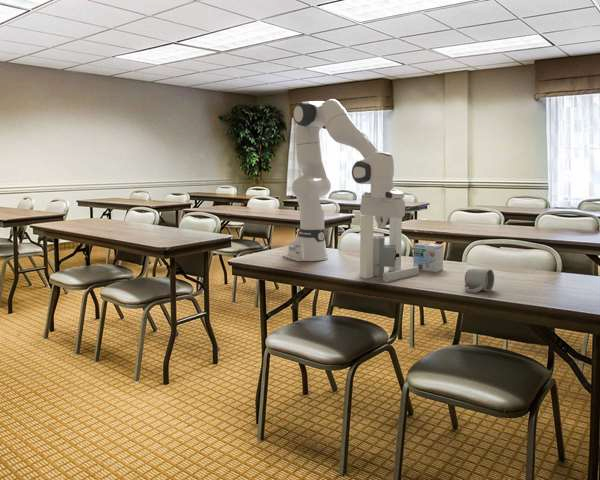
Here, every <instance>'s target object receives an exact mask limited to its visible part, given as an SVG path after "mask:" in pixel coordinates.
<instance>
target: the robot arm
mask: <svg viewBox="0 0 600 480" xmlns="http://www.w3.org/2000/svg"><path fill="white" fill-rule="evenodd" d="M292 117H293V120H294V122H295V124H296V127H295V138H294V139H295V148H296V160H297V164H298V165H299V166H300V169H301V171H302V173H303V174H302V175H300V176H299V177H298V178H296V179H295V180H294V181H293V183H292V187H291V189H292V190H291V191H292V193H293V194H294V196H295V197H296V200H297V204H298V209H299V216H300V218H299V220H300V224H299V225H300V228H299V229H296V233H298V234H297V236H296V238H294V239H293V240H291V242H290V243H289V244H288V246H287V253H284V254H282V257H283V256H284V257H283V258H286V259H290V260H293V261H296V262H319V261H320V262H321V261H324V260H325V261H326V260H328V258H329V257H328V253H327V252H328V251H327V246H326V240H325V237H326V228H325V211H324V209H323V207H322V204H321V200H320V198H323V197H325V196H326V195H327V194H329V192H330V191H331V187H332V185H331V181H330V179H329V178H328V175H327V173H326V169H325V167H324V164H323V159H322V149H321V141H320V140H321V139H320V131H321V129H324V130H326V131H327V133H328V135H329V136H330V138H331V139H332V140H334V141H335V142H336V143H338V144H342V145H344V146H348V147H351V148H353V149H355V150H356V151H358V153H360V155H361V156H362V157H363V159H360V160H357V161H356V162H354V164H353V165H352V168H351V176H352V179H353V181H355V182H356V184H360V185H370V192H367V191H366V192H363V194H362V195H361V201H360V207H359V213H360V216H366V215H367V216H373V217H374V220H375V221H376V225H377V228H378V229H386V228H387V225H386V224H387V223H388V221H389V218H390V217H391V218H402V219H403V218H404V217H405V215H406V202H405V200H404V198H405V193H404V192H403V191H400V190H398V189H396V188H395V187H394V186H395V185H394V184H395V183H394V180H393V178H394V175H395V174H394V173H395V166H394V164H395V163H394V157H393V155H392V154H391V153H390V152H386V151H379V150H377V148H376V147H375V145H374V144H373V143H372V142H371V140H370V139H369V138H368V136H367V135H366V134H365V133H364V132H363V131H362V130H361V129H360V128H359V127H358V126H357V124H355V123H354V121H353V120H352V118H351V116H350V114H349V113H348V111H347V110H346V108H345V107H344V106H343V105H342V103H340V102H339V101H338V100H337V99H334V98H331V99H327V100H325V101H323V100H312V101H301V102H298V103H297V104H296V105H295V106H294V108H293V112H292ZM381 219H382V221H381Z"/></svg>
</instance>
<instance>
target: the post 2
mask: <svg viewBox="0 0 600 480" xmlns="http://www.w3.org/2000/svg"><path fill="white" fill-rule="evenodd" d="M402 221H403V218H391V217H389V234H388V235H389V236H388V237H389V238H388V239H389V241H388V242H389V243H388V245H395V250H396V253H399V257H396V260H395V267H388V272H391V271H395V270H400V269H402V230H403V229H402V228H403V222H402Z"/></svg>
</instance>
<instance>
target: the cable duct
mask: <svg viewBox="0 0 600 480" xmlns="http://www.w3.org/2000/svg"><path fill="white" fill-rule="evenodd" d="M419 271H420V270H419V267H417V266H409V267H405V268H401V269H400V270H395V271H387V272H384V273H383V276H382V282H386V283H388V282H393V281H396V280H401V279H405V278H408V277H409V278H410V277H412V276H416V275H419Z"/></svg>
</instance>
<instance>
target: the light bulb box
mask: <svg viewBox="0 0 600 480" xmlns="http://www.w3.org/2000/svg"><path fill="white" fill-rule="evenodd" d="M444 246H445V245H444V244H443V243H442V244H441V243H434V242H433V243H432V242H424V241H421V242H417V243H416V242H415V243H413V259H412V263H413V264H412V265H413V266H417V267H419V271H424V272H425V271H426V272H432V273H437V272H440V271H443V270H444V250H445V249H444ZM413 266H412V267H413Z"/></svg>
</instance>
